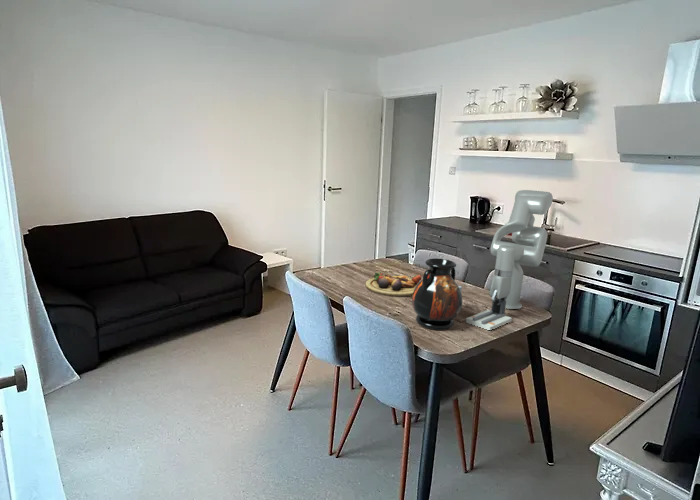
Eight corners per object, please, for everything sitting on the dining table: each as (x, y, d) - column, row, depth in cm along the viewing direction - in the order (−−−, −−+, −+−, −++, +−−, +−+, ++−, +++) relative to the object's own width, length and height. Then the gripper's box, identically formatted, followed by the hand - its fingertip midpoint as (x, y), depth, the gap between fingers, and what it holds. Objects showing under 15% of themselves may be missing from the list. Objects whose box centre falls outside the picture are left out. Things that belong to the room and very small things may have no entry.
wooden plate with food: (422, 281, 249) (423, 267, 247) (426, 299, 218) (427, 283, 216) (367, 278, 252) (367, 264, 250) (363, 295, 221) (363, 280, 219)
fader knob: (494, 311, 199) (496, 298, 198) (504, 315, 195) (506, 301, 194) (490, 313, 197) (492, 299, 196) (500, 316, 194) (502, 302, 192)
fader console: (487, 313, 202) (488, 307, 202) (511, 322, 194) (512, 315, 193) (465, 322, 191) (466, 315, 190) (489, 331, 182) (490, 324, 181)
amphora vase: (433, 310, 202) (438, 253, 196) (470, 327, 186) (477, 264, 179) (399, 319, 190) (404, 258, 183) (436, 338, 173) (443, 271, 167)
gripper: (505, 268, 200) (499, 305, 204) (485, 273, 189) (480, 312, 193) (520, 272, 194) (514, 310, 199) (501, 278, 184) (495, 318, 188)
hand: (498, 311), depth 196 cm, fingers closed on fader knob, 3 cm apart
